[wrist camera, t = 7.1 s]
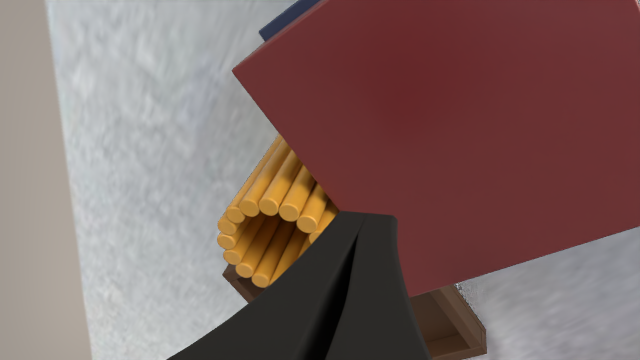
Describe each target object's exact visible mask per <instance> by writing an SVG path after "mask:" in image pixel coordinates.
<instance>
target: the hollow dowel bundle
mask: <svg viewBox="0 0 640 360" xmlns="http://www.w3.org/2000/svg"><path fill="white" fill-rule="evenodd" d="M339 212H340V211H339V210H338V208H337V207H336V206H335V205H334V203H333V202H332V201H331V199H330V198H329V197H328V195H327V194H326V193H325V192H324V190H323V189H322V188H321V186H320V185H319V184H318V183H317V181H316V180H315V179H314V177H313V176H312V175H311V174H310V172H309V171H308V170H307V168H306V167H305V166H304V164H303V163H302V162H301V161H300V159H299V158H298V157H297V155H296V154H295V153H294V152H293V150H292V149H291V148H290V146H289V145H288V144H287V142H286V141H285V140H284V139H283V137H282V136H281V135H280V133H279V134H278V135H277V137H276V139H275V141H274V142H273V143H272V145H271V146H270V148H269V149H268V150H267V152H266V153H265V155H264V156H263V158H262V159H261V160H260V162H259V163H258V165H257V166H256V167H255V169H254V170H253V172H252V173H251V175H250V176H249V177H248V179H247V180H246V182H245V183H244V185H243V186H242V187H241V189H240V190H239V192H238V193H237V194H236V196H235V197H234V199H233V200H232V202H231V203H230V204H229V206H228V207H227V209H226V211H225V213H224V214H223V215H222V217H221V218H220V220H219V221H218V229H219V230H220V231H221V232H220V234H219V235H218V237H217V242H218V244H219V245H220V246H221V247H222V248H224V249H225V251H224V253H223V257H224V259H225V261H226V262H228V263H229V264H232V265H236V272H237V273H238V274H239V275H240V276H241V277H244V278H249V277H251V276H252V282H253V283H254V284H255V285H256V286H258V287H262V288H264V287H267V286H268V285H269V286H270V285H271V284H272V283H273V282H274V281H275V280H276V279H277V278H278V277H279V276H280V275H281V274H282V273H283V272H285V271H286V270H287V269H288V268H289V267H290V266H291V265H292V264H293V263H294V262H295V261H296V260H297V259H298V258H299V256H300V255H301V254H302V253H303V252H304V251H305V250H306V249H307V248H308V247H309V246H310V245H311V244H312V243H313V242H314V241H315V239H316V238H317V237H318V236H319V235H320V234H321V233H322V232H323V230H324V229H325V228H326V227H327V226H328V224H329V223H330V222H331V221H332V220H333V219H334V217H335V216H336V215H337V214H338V213H339Z"/></svg>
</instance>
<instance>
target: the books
mask: <svg viewBox="0 0 640 360" xmlns="http://www.w3.org/2000/svg"><path fill="white" fill-rule="evenodd" d="M259 34H260V35H261V37H262V38H263V39H264V41H265V42H264V43H263V44H262V45H261V46H259V47H258V48H257V49H256V50H255V51H253V52H252V53H251V54H250V55H249V56H247V57H246V58H245V59H244V60H243V61H242V62H240V63H239V64H238V65H237V66H236V67H234V68H233V70H232V72H233V74H234V75H235V77H236V78H237V79H238V80H239V82H240V83H241V84H242V86H243V87H244V88H245V89H246V91H247V92H248V93H249V95H250V96H251V97H252V99H253V100H254V101H255V102H256V104H257V105H258V106H259V108H260V109H261V110H262V111H263V113H264V114H265V115H266V117H267V118H268V119H269V121H270V122H271V123H272V124H273V126H274V127H275V128H276V130H277V131H278V132H279V133H280V135H281V136H282V137H283V139H284V140H285V141H286V142H287V144H288V145H289V146H290V148H291V149H292V150H293V152H294V153H295V154H296V155H297V157H298V158H299V159H300V161H301V162H302V163H303V164H304V166H305V167H306V168H307V170H308V171H309V172H310V174H311V175H312V176H313V177H314V179H315V180H316V181H317V183H318V184H319V185H320V186H321V188H322V189H323V190H324V192H325V193H326V194H327V195H328V197H329V198H330V199H331V201H332V202H333V203H334V205H335V206H336V207H337V208H338V210H339V211H351V212H363V213H374V214H385V215H394V216H395V217H396V218H397V219H398V241H397V247H398V254H399V260H400V265H401V269H402V273H403V278H404V282H405V286H406V289H407V293H408V296H409V298H410V297H413V296H416V295H420V294H423V293H426V292H429V291H433V290H436V289H439V288H442V287H445V286H449V285H452V284H455V283H458V282H461V281H465V280H468V279H471V278H474V277H478V276H481V275H484V274H487V273H490V272H494V271H497V270H500V269H503V268H507V267H510V266H513V265H516V264H519V263H523V262H526V261H529V260H532V259H536V258H539V257H542V256H545V255H548V254H552V253H555V252H558V251H561V250H564V249H568V248H571V247H574V246H577V245H581V244H584V243H587V242H590V241H593V240H597V239H600V238H603V237H606V236H610V235H613V234H616V233H619V232H622V231H626V230H629V229H632V228H635V227H639V226H640V5H639V2H638V0H298V1H297V2H296V3H294V4H293V5H292V6H291V7H289V8H288V9H287V10H285V11H284V12H283V13H282V14H280V15H279V16H278V17H276V18H275V19H274V20H272V21H271V22H270V23H269V24H267V25H266V26H265V27H263V28H262V29H261V30H260V31H259Z"/></svg>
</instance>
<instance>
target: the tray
mask: <svg viewBox="0 0 640 360" xmlns="http://www.w3.org/2000/svg"><path fill="white" fill-rule="evenodd" d="M222 275H223V277H224V278H225V279H226V280H227V281H228V282H230V284H231V285H232V286H233V287H234V288H235V289H236V290H237V291H238V292H239V293H240V295H241V296H242V297H243V298H244V299H245V300H246V301H247V302H248V303H250V302H251V301H252V300H253V299H255V298H256V297H257V296H258V295H259V294H261V293H262V292H263V291H264V290H265V289H266V288H267V287H268V286H269V285H268V286H267V287H264V288H262V287H258V286H256V285H255V284H254V283H253V282H252V276H251V277H249V278H244V277H241V276H240V275H239V274H238V273H237V272H236V265H232V264H228V266H227V268H226V269H225V271H224V273H223V274H222ZM409 299H410V302H411V305H412V309H413V312H414V315H415V317H416V320H417V323H418V326H419V328H420V331H421V334H422V336H423V338H424V341H425V343H426V346H427V348H428V351H429V353H430V355H431V357H432V360H462V359H466V358H471V357H475V356H480V355H484V354H487V346H486V329H485V328H484V326H483V325H482V324H481V322H480V321H479V319H478V318H477V317H476V315H475V314H474V313H473V311H472V310H471V308H470V307H469V306H468V304H467V303H466V301H465V300H464V299H463V297H462V296H461V294H460V293H459V292H458V290H457V289H456V287H455V286H454V285H453V284H452V285H449V286H445V287H442V288H439V289H436V290H433V291H429V292H426V293H423V294H420V295H416V296H413V297H410V298H409Z"/></svg>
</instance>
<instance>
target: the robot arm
mask: <svg viewBox="0 0 640 360" xmlns="http://www.w3.org/2000/svg"><path fill="white" fill-rule="evenodd" d="M397 241H398V219H397V218H396V217H395V216H394V215H385V214H374V213H363V212H351V211H340V212H339V213H338V214H337V215H336V216H335V217H334V219H333V220H332V221H331V222H330V223H329V224H328V226H327V227H326V228H325V229H324V230H323V232H322V233H321V234H320V235H319V236H318V237H317V238H316V239H315V241H314V242H313V243H312V244H311V245H310V246H309V247H308V248H307V249H306V250H305V251H304V252H303V253H302V254H301V255H300V256H299V258H298V259H297V260H296V261H295V262H294V263H293V264H292V265H291V266H290V267H289V268H288V269H287V270H286V271H285V272H283V273H282V274H281V275H280V276H279V277H278V278H277V279H276V280H275V281H274V282H273V283H272V284H271V285H270V286H268V287H267V288H266V289H265V290H264V291H263V292H262V293H261V294H259V295H258V296H257V297H256V298H255V299H253V300H252V301H251V302H250V303H249V304H247V305H246V306H245V307H244V308H242V309H241V310H240V311H238V312H237V313H236V314H235V315H233V316H232V317H231V318H229V319H228V320H227V321H225V322H224V323H222V324H221V325H219V326H218V327H217V328H215V329H214V330H212V331H211V332H209V333H208V334H206V335H205V336H203V337H202V338H200V339H199V340H197V341H196V342H194V343H193V344H191V345H190V346H188V347H187V348H185V349H183V350H182V351H180V352H178V353H177V354H175V355H173V356H172V357H170V358H168V359H166V360H432V357H431V355H430V353H429V351H428V348H427V346H426V343H425V341H424V338H423V336H422V334H421V331H420V328H419V326H418V323H417V320H416V317H415V315H414V312H413V309H412V305H411V302H410V299H409V296H408V293H407V289H406V286H405V282H404V278H403V273H402V269H401V265H400V260H399V254H398V247H397Z"/></svg>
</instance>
